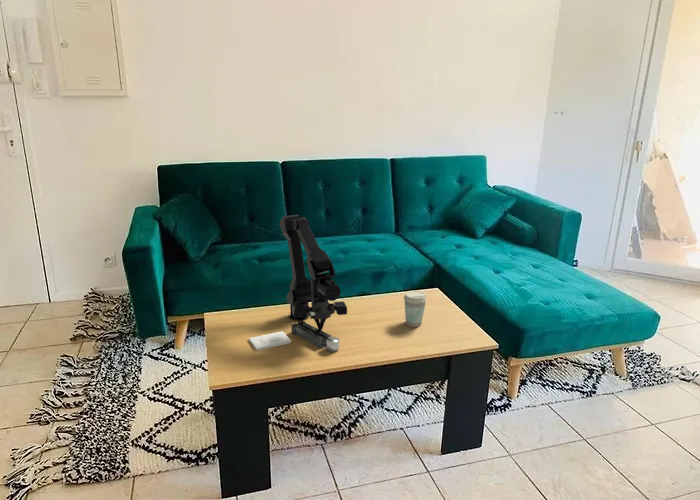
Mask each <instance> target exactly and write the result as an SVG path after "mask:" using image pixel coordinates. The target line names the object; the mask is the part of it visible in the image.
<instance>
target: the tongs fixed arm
mask: <svg viewBox="0 0 700 500" xmlns="http://www.w3.org/2000/svg"><path fill="white" fill-rule="evenodd" d="M291 333H292V334H294V335H295V336H297V337H299V338H301V339H303V340H304V341H306V342H308V343H310V344H312V345H314V346H315V347H317V348H320V349H324V348H326V343H325V338H323V337H321V336H319V335H318V334H316V333H314V332H312V331H310V330H308V329H306V328H304V327H302V326H300V325H298V324H297V323H293V324H291Z"/></svg>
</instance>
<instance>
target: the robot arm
mask: <svg viewBox="0 0 700 500" xmlns="http://www.w3.org/2000/svg"><path fill="white" fill-rule="evenodd" d="M279 227H280V229H281V234H282V235H283V236H284V237H285V238H286V240H287V245H288V253H289V259H290V261H289V262H290V266H291V267H290V268H291V273H292V279H291V282H290V284H289V291H288V292H287V294H286V297H285V298H286V302H287V304H289V305H290V306H289V307H290V309H289V310H290V311H289V312H290V313H289V315H288V319H293V320H297V321H300V320H302V321H306V319H308V318H309V317H310V319H313V320H314V322H315V324H316V326H317V327H316V328H317V329H319V330H321V331H323V329H324V325H325V322H326V320H327V319H329V318H331V316H333V314H335V313H336V315H338V316H341V315H343V316H344V315H347V314H348V307H347V304H346V302H345V301H336V300H338V298H339V297H340V296H341V288H340V287H339V285H338V284H336V280H334V279H333V278H336V270H335V268H334V265H333V263H332V260H331V258H330V257H329V255H328V253H327V252H326V251H325V250H323V249H322V248H320V246H319V244H318V242H317V239H316V238H315V236H314V233H313V231H312V229H311V227H310V221H309V220H308V219H307V218H306V217H301V216H300V215H299V214H294V215H285V216H282V217H281V219H280V220H279ZM302 246H303V248H302ZM303 249H304V252H305V253H306V255H307V256H306V257H307V258H306V266H307V271H309V276H310V280H309V279H308V277H307V276H306V270H305V263H304V262H305V261H304V257H303V256H304V255H303ZM331 302H333V303H331ZM309 303H311V306H310V305H309Z"/></svg>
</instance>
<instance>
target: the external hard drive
mask: <svg viewBox="0 0 700 500" xmlns="http://www.w3.org/2000/svg"><path fill="white" fill-rule="evenodd" d="M248 341H249V343H251V345H252V346H253V348H254V350H256V351H261V350H265V349H270V348H273V347H278V346H283V345H287V344H288V345H289V344H291V343H292V340H291V339H290V337H288V336H287V334H286V333H285V332H284V331H283V330H281V331H276V332H273V333H272V332H271V333H268V334H263V335H258V336H254V337H248Z"/></svg>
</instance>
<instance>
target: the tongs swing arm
mask: <svg viewBox="0 0 700 500" xmlns="http://www.w3.org/2000/svg"><path fill="white" fill-rule="evenodd" d="M296 324H298V325H300V326H302V327H304V328H306V329H308V330H310V331H312V332H314V333H316V334H318V335H319V336H321V337H323V338H325V350H326V351H328V352H337V351H338V350H340V338H338V337H337V336H332V335H331V334H329V333H327V332H325V331H323V330H322V331H321V330H319V329H318V327H315V326H313V325H311V324H308V323H307V322H306V321H305V320H303V321H302V320H297V323H296Z"/></svg>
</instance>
